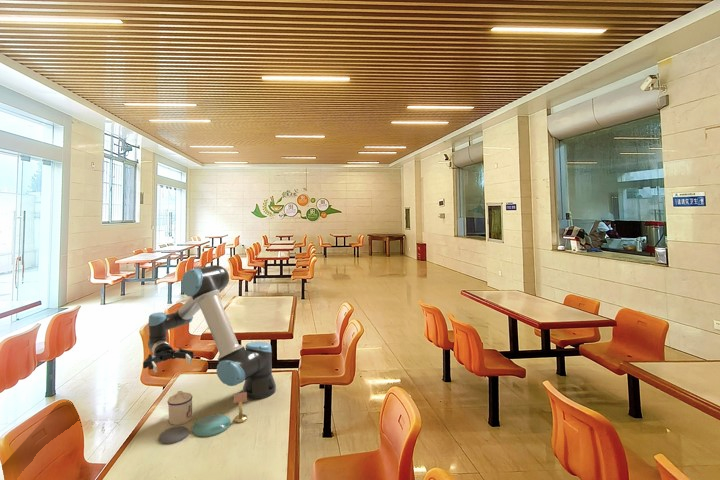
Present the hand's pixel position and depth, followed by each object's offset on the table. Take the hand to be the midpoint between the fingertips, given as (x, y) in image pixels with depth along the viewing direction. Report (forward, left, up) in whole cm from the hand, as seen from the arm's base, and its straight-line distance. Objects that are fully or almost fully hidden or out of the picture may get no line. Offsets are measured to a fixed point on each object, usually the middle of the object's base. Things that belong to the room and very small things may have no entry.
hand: (173, 365), depth 156 cm
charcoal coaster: (-2, +22, -19) cm, 29 cm away
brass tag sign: (-26, +19, -19) cm, 38 cm away
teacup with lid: (-3, +9, -19) cm, 21 cm away
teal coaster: (-15, +20, -19) cm, 32 cm away
